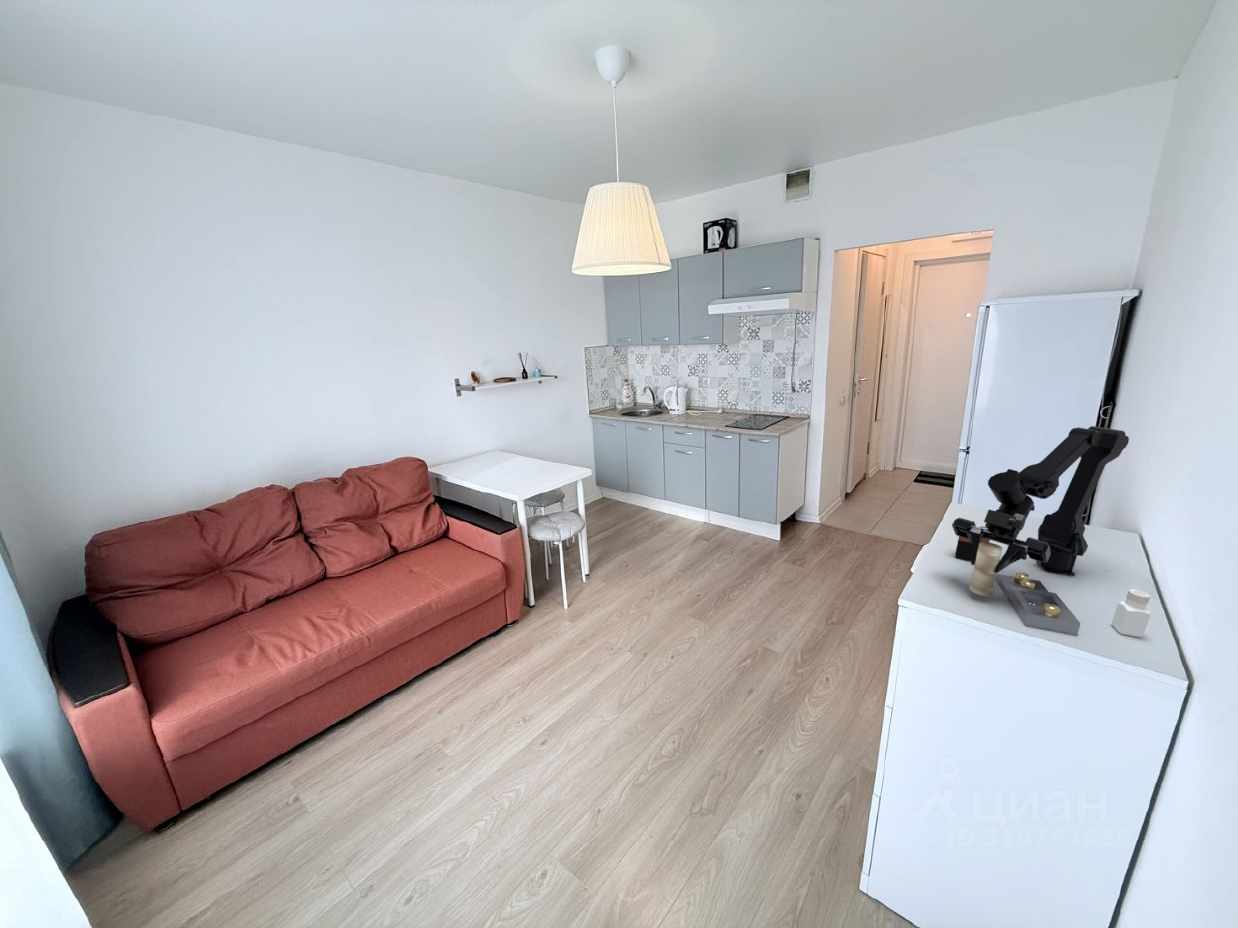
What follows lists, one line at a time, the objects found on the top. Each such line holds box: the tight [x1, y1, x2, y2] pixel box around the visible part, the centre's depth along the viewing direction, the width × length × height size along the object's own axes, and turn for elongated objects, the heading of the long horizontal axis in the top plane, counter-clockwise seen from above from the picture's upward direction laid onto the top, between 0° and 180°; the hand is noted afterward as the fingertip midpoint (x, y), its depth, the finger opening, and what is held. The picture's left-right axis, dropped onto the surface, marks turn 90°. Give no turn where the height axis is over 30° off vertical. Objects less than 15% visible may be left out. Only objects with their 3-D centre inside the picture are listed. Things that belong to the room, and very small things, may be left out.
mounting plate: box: [995, 571, 1081, 636], centre depth 114 cm, size 9×22×5 cm, turn 157°
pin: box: [969, 541, 1003, 597], centre depth 115 cm, size 4×4×12 cm
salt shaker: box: [1111, 588, 1152, 638], centre depth 103 cm, size 4×4×10 cm
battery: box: [955, 525, 991, 562], centre depth 136 cm, size 4×7×10 cm, turn 54°
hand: (983, 568), depth 114 cm, fingers closed on pin, 4 cm apart
